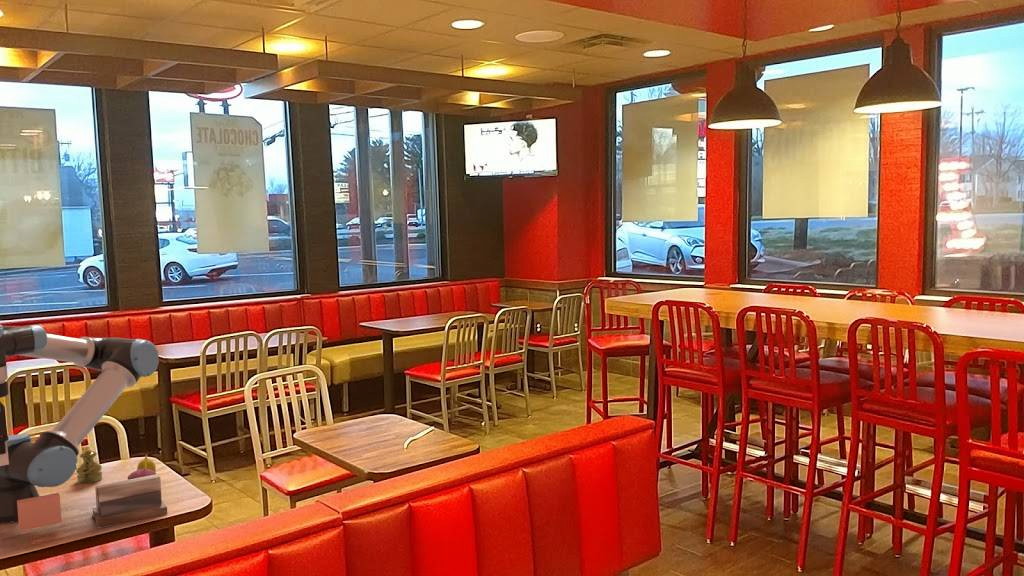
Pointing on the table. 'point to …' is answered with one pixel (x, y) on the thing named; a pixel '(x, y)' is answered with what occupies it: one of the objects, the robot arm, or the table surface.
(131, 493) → the ticket holder
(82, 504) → the table surface
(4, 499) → the robot arm
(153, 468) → the lemon
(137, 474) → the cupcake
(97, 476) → the christmas tree figurine
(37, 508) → the stub
